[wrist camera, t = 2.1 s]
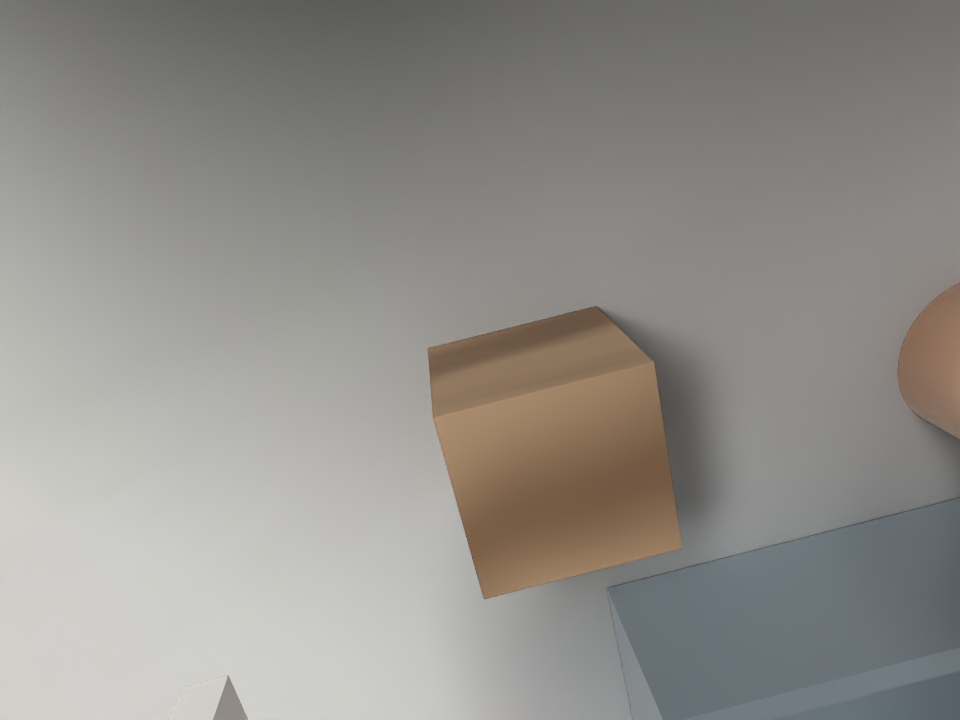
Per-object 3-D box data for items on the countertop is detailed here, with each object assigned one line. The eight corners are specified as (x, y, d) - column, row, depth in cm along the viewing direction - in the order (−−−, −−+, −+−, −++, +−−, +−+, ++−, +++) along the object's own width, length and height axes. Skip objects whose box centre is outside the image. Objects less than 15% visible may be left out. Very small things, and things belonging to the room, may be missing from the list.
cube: (427, 347, 19) (433, 417, 15) (595, 305, 19) (653, 361, 15) (467, 494, 21) (484, 599, 16) (621, 455, 21) (681, 548, 16)
